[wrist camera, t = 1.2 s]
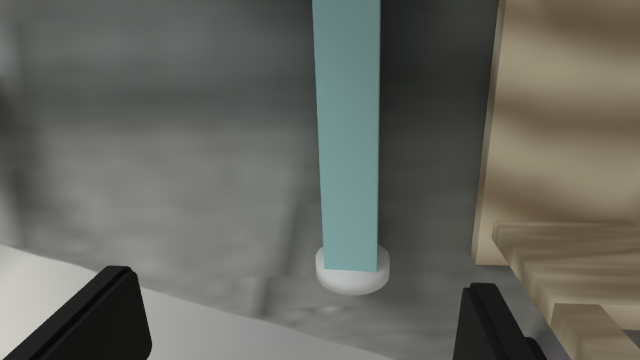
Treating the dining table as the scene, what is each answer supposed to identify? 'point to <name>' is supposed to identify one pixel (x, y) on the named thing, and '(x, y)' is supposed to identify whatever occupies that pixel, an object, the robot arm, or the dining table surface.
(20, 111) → the dining table surface
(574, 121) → the stand
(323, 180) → the teal long bar
